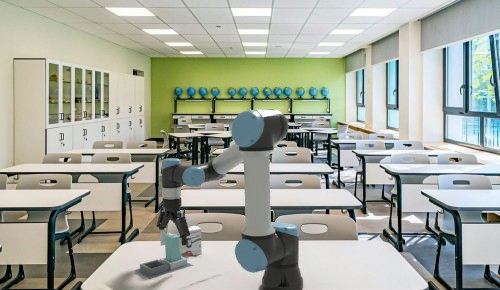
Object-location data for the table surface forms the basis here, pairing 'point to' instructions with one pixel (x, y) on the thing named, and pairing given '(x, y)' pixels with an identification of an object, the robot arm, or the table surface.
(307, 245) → the table surface
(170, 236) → the plug
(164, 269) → the panel
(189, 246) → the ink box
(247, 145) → the robot arm
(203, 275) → the table surface
